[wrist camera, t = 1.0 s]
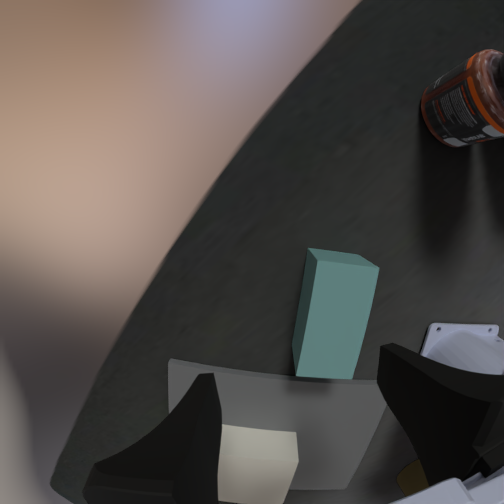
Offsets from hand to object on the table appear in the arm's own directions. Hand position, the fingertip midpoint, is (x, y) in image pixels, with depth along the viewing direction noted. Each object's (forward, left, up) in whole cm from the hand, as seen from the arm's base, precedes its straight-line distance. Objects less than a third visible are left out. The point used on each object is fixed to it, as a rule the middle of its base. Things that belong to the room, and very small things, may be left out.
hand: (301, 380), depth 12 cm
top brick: (-3, 0, -12) cm, 12 cm away
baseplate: (-1, +15, -12) cm, 19 cm away
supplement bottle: (-12, -17, -12) cm, 24 cm away
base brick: (+1, +17, -11) cm, 20 cm away
